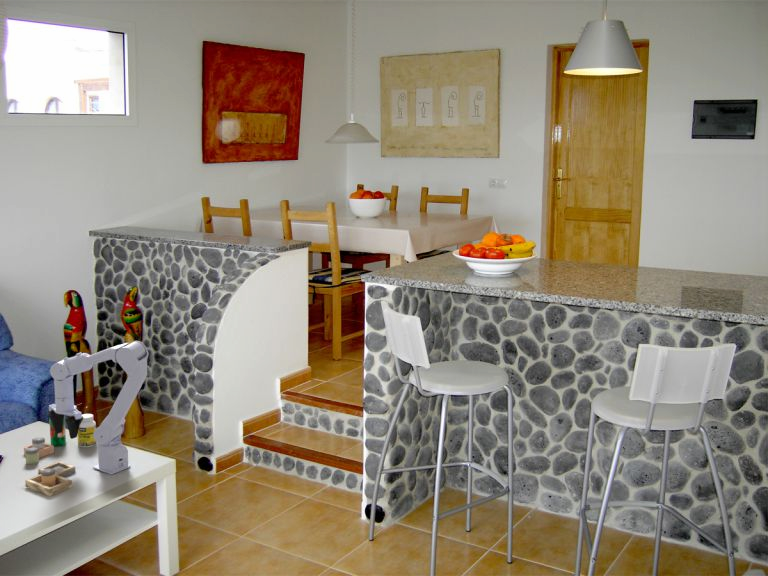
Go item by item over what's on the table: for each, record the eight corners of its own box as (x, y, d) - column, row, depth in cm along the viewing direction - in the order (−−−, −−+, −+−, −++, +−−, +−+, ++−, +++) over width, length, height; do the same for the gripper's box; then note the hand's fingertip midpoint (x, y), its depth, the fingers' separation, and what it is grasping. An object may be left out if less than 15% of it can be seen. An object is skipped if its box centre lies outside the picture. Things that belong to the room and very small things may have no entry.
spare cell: (41, 463, 275) (40, 449, 274) (30, 467, 271) (30, 452, 270) (34, 460, 277) (33, 446, 276) (23, 464, 273) (22, 450, 272)
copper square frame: (54, 453, 283) (53, 445, 282) (36, 460, 277) (36, 451, 276) (41, 449, 286) (41, 441, 286) (24, 455, 281) (23, 447, 280)
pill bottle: (77, 449, 287) (76, 419, 285) (78, 443, 293) (77, 413, 291) (96, 448, 289) (94, 418, 287) (97, 441, 295) (95, 412, 293)
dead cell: (48, 452, 282) (47, 438, 281) (37, 456, 279) (36, 442, 278) (40, 450, 284) (40, 436, 283) (30, 453, 281) (29, 439, 280)
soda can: (60, 448, 287) (59, 416, 285) (47, 447, 288) (45, 414, 286) (69, 443, 292) (67, 411, 290) (56, 442, 293) (54, 410, 291)
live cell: (55, 488, 256) (54, 473, 255) (41, 489, 255) (40, 474, 254) (56, 483, 260) (55, 468, 259) (43, 484, 259) (42, 469, 258)
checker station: (93, 478, 263) (93, 472, 263) (49, 496, 250) (49, 489, 250) (60, 466, 272) (59, 459, 272) (15, 482, 259) (15, 476, 259)
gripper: (88, 397, 270) (90, 436, 273) (60, 389, 278) (62, 427, 280) (70, 402, 264) (72, 442, 267) (42, 394, 272) (44, 433, 274)
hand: (66, 435), depth 273 cm, fingers open, 7 cm apart
